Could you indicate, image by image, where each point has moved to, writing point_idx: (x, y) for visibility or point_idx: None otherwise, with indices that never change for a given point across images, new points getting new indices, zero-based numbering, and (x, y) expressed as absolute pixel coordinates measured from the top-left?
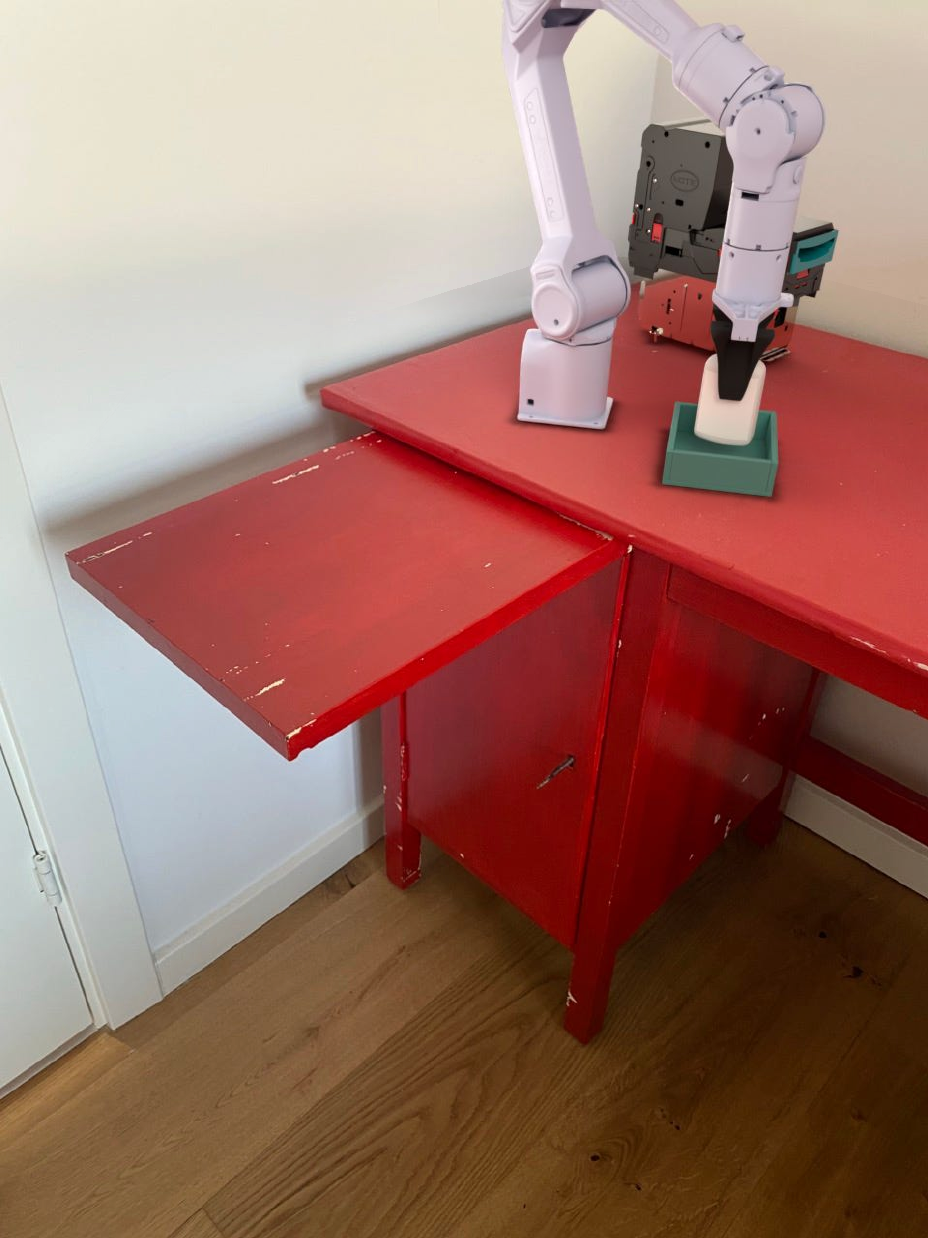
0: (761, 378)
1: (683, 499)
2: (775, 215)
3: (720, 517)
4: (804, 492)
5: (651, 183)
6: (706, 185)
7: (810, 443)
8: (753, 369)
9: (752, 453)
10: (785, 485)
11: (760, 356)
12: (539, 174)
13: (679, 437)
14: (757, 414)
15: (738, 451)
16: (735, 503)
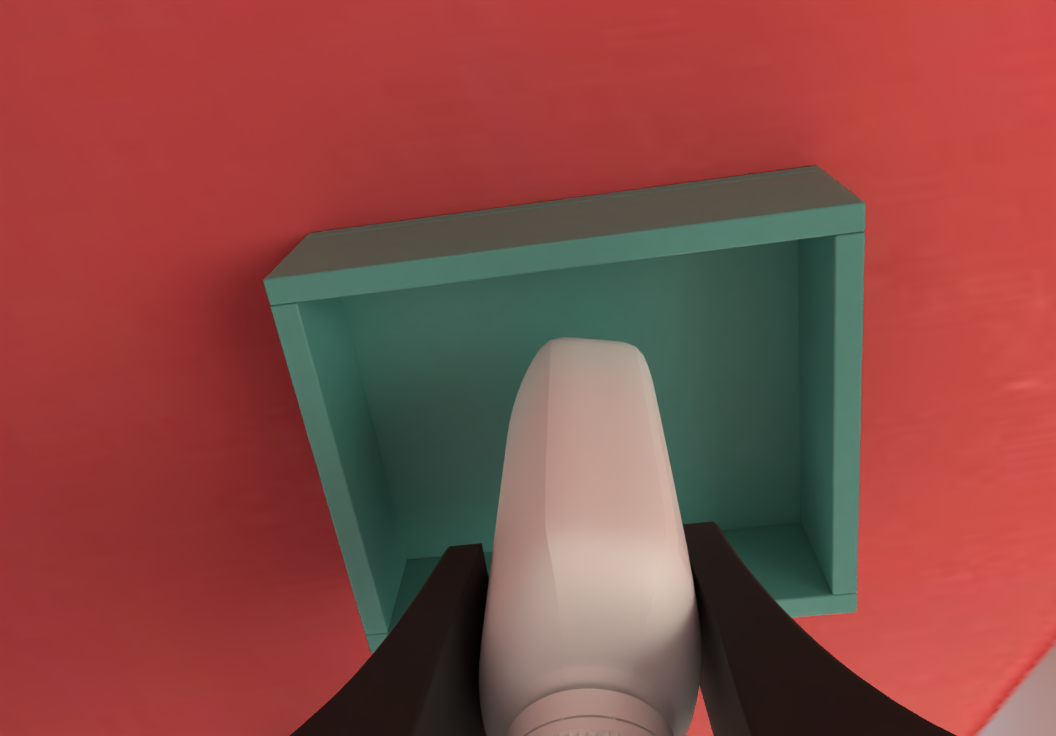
0: (662, 521)
1: (911, 449)
2: None
3: (1027, 318)
4: (729, 34)
5: None
6: None
7: (218, 63)
8: (800, 628)
9: (482, 289)
10: (687, 121)
11: (874, 687)
12: None
13: (460, 544)
14: (587, 388)
15: (489, 342)
16: (901, 285)
